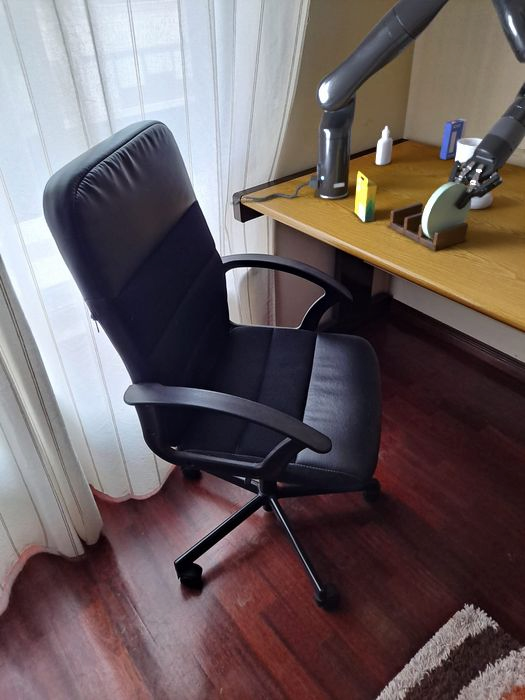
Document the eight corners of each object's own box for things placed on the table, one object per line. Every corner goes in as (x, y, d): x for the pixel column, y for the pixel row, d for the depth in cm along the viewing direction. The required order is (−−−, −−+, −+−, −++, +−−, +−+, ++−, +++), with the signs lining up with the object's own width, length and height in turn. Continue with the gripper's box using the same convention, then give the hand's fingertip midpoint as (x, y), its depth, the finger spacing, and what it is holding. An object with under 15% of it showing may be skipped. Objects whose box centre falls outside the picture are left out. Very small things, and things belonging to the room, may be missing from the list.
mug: (483, 180, 155) (490, 146, 148) (453, 180, 156) (459, 146, 150) (476, 168, 163) (483, 135, 157) (448, 168, 165) (454, 136, 158)
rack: (389, 227, 132) (391, 210, 129) (417, 218, 135) (420, 202, 132) (434, 250, 120) (437, 233, 117) (464, 240, 123) (468, 223, 121)
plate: (417, 246, 122) (426, 188, 113) (458, 232, 127) (471, 176, 118) (422, 249, 121) (432, 191, 112) (464, 235, 126) (476, 178, 117)
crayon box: (374, 221, 135) (378, 178, 128) (363, 222, 135) (367, 179, 127) (364, 210, 141) (367, 169, 134) (354, 212, 140) (357, 170, 133)
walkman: (445, 159, 171) (452, 122, 164) (439, 158, 173) (445, 121, 166) (461, 155, 175) (468, 118, 167) (455, 153, 176) (461, 117, 169)
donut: (496, 202, 141) (462, 195, 146) (499, 190, 139) (464, 183, 144) (483, 214, 135) (448, 206, 140) (486, 202, 133) (450, 194, 138)
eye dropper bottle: (373, 161, 173) (376, 125, 166) (388, 160, 174) (392, 123, 166) (377, 165, 170) (380, 128, 163) (393, 164, 171) (397, 127, 163)
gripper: (470, 126, 118) (424, 188, 121) (521, 140, 108) (468, 206, 111) (481, 145, 123) (436, 204, 126) (530, 160, 113) (480, 223, 117)
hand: (452, 205), depth 119 cm, fingers open, 3 cm apart
